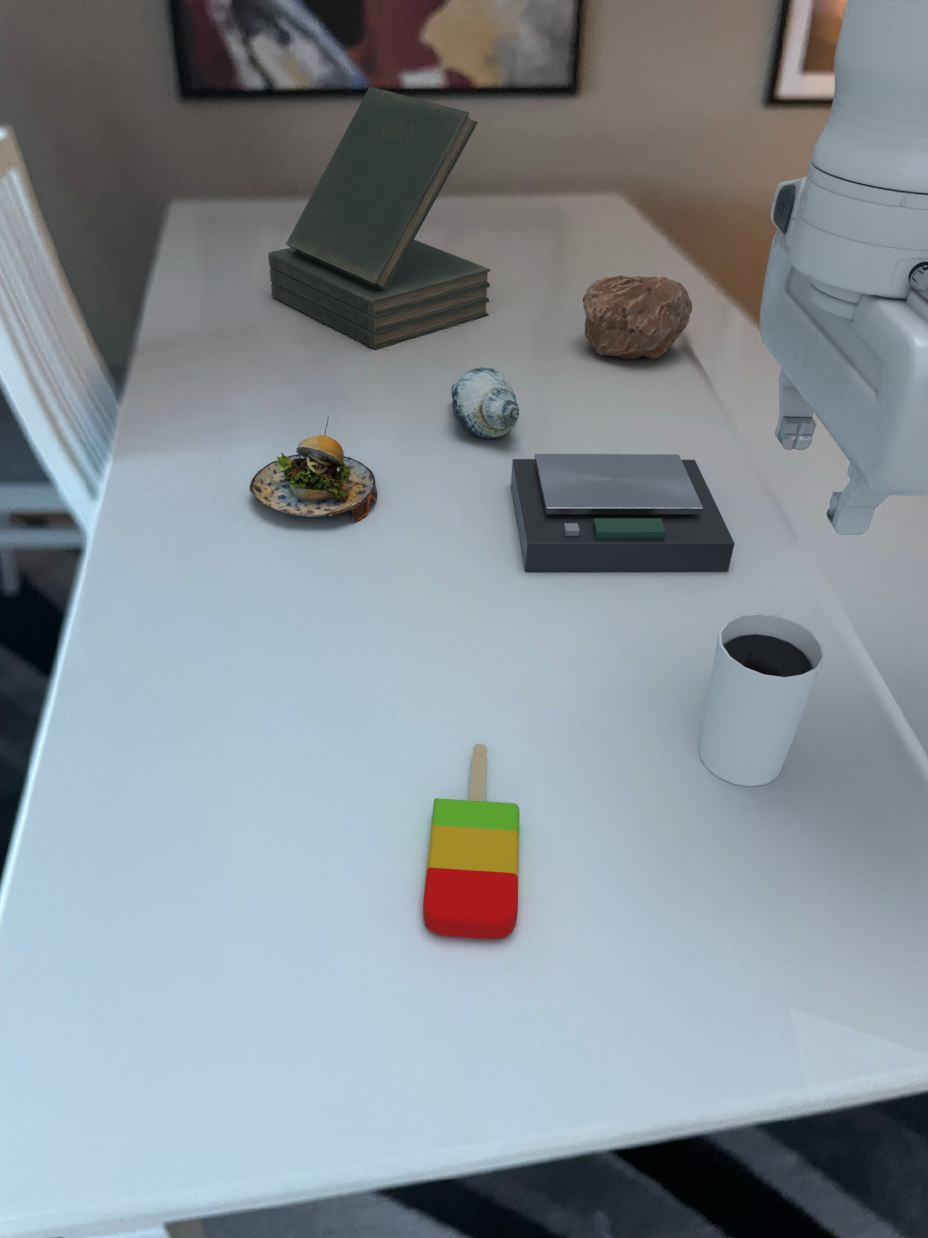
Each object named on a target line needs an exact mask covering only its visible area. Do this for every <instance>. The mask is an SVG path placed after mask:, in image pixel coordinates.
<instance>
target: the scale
mask: <svg viewBox="0 0 928 1238" xmlns="http://www.w3.org/2000/svg"><path fill="white" fill-rule="evenodd" d="M534 459H535V458H513V459H512V461H511V477H510V488H511V495H512V501H513V506H514V507H513V508H514V513H515V514H514V515H515V519H516V527H517V531H518V538H519V543H520V550H521V556H522V562H523V568H524V572H525V573H554V572H555V573H565V572H566V573H568V572H569V573H587V572H588V573H591V572H592V573H593V572H596V573H597V572H601V573H602V572H606V573H607V572H608V573H614V572H617V573H618V572H619V573H620V572H621V573H622V572H623V573H625V572H626V573H627V572H628V573H629V572H631V573H633V572H636V573H637V572H638V573H639V572H644V573H646V572H647V573H648V572H650V573H653V572H658V573H659V572H665V573H666V572H729V570H730V565H731V561H732V556H733V553H734V548H735V544H736V543H735V541H734V539H733V537H732V534H731V533H730V531H729V528H728V527H727V524H726V522H725V520H724V518H723V516H722V513H721V512H720V509H719V507H718V505H717V503H716V501H715V499H714V497H713V495H712V493H711V490H710V489H709V487H708V485H707V482H706V480H705V478H704V476H703V474H702V472H701V470H700V468H699V465H698V463H697V461H696V460H695V459H681V460H682V462H683V465H684V467H685V469H686V471H687V473H688V476H689V478H690V480H691V482H692V485H693V487H694V489H695V491H696V493H697V496H698V498H699V500H700V502H701V504H702V507H703V512H702V514H701V515H690V514H546V512H545V507H544V503H543V498H542V493H541V489H540V484H539V479H538V474H537V470H536V465H535V460H534Z"/></svg>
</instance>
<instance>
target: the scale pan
mask: <svg viewBox="0 0 928 1238" xmlns="http://www.w3.org/2000/svg"><path fill="white" fill-rule="evenodd" d="M533 459H534V460H535V465H536V470H537V474H538V479H539V484H540V489H541V493H542V498H543V503H544V507H545V512H546V514H690V515H701V514H702V512H703V507H702V504H701V502H700V500H699V498H698V496H697V493H696V491H695V489H694V487H693V485H692V482H691V480H690V478H689V476H688V473H687V471H686V469H685V467H684V465H683V462H682V460H683V459H682V458H681V456H680V454H678V453H677V454H676V453H674V454H673V453H668V454H667V453H662V454H661V453H660V454H659V453H640V454H639V453H535V454H534V458H533Z"/></svg>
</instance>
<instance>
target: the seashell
mask: <svg viewBox="0 0 928 1238" xmlns="http://www.w3.org/2000/svg"><path fill="white" fill-rule="evenodd" d="M451 398H452V401H451V403H452V410H453V413H454V416H455V419H456V420H457V422H458V424H459V425H460V427H461V428H462V429H463V430H464V431H465V432H467V434H469V435H471V436H474V437H475V438H480V439H487V440H489V439H498V438H500V437H502V436H506V434H508V433H509V432H510V431H511V430H512V429H513V427H514V426H515V424H516V423H517V421H518V419H519V417H520V408H519V405H518V402H517V401H518V400H517V397H516V393H514V390H513V388H512V385H511V384H510V382H509V380H508V379H507V378H506V376H505V375H504V374H503V373H502V372H500V371H498V370H497V369H495V368H492V367H483V366H482V367H476V368H473V369H471V370H468V371H467V372H465V373H464V374H462V375H461V377H460V378H459V380H458V381H457V382H456V383H454V384H452V386H451Z"/></svg>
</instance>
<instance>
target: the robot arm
mask: <svg viewBox="0 0 928 1238" xmlns="http://www.w3.org/2000/svg"><path fill="white" fill-rule="evenodd" d="M835 47H836V48H835V53H834V58H833V59H834V61H833V70H834V71H833V72H834V73H833V75H834V91H833V99H832V103H831V107H830V110H829V111H830V112H829V113H828V118H827V120H826V122H825V124H824V127H823V129H822V131H821V133H820V134H819V137H818V138H817V140H816V141H815V144H814V146H813V149H812V152H811V156H810V160H809V164H808V168H807V173H806V176H803V177H800V178H795V179H790V180H785V181H782V182H780V183H778V185H777V186H776V187H775V191H774V193H773V198H772V202H771V203H772V204H771V207H770V220H771V223H772V224H773V226H774V227H775V228H776V229H777V230H776V231H775V233H774V234H773V238H772V242H771V245H770V249H769V252H768V253H769V254H768V259H767V264H766V269H765V276H764V281H763V287H762V294H761V300H760V308H759V332H760V339H761V342H762V344H764V346H765V347H766V348H767V349H768V351H769V353H770V354H771V356H772V357H773V358H774V359H775V361H776V362H777V364H778V365H779V366H780V371H779V376H778V394H779V395H778V396H779V397H778V400H779V401H778V403H779V404H778V405H779V407H778V408H779V415H778V419H777V423H776V426H775V432H774V436H775V438H776V439H777V440H778V442H779V444H780V445H781V446H782V448H783V450H786V451H792V450H797V451H805V450H807V449H808V448H810V446H811V445H812V442H813V435H814V434H815V431H816V427H817V422H816V421H815V419H814V414H815V416H816V417H817V418H818V420H819V422H820V423H821V424H822V426H823V427H824V428H825V430H826V431H827V432H828V434H829V435H830V437H831V438H832V439H833V441H834V442H835V443H836V445H837V446H838V447H839V450H840V451H841V452H842V453H843V455H844V456H845V458H846V459H847V460H848V462H849V465H848V468H847V471H846V473H847V477H849V479H850V481H849V482H848V483H847V485H846V486H845V488H844V489H843V491H832V494H831V498H830V501H829V507H828V509H827V511H826V518H827V520H828V522H829V523H830V525H831V526H832V528H833V530H834V531H835V533H837V534H838V535H840V536H843V535H844V536H859V535H860V536H861V535H863V534H864V533H866V532H867V531H868V530H869V528H870V525H871V522H872V519H873V516H874V513H875V510H876V508H878V507H879V506H880V505H881V504H882V503H883V502H884V501H885V500H886V499H888V497H889V496H895V497H897V496H898V497H899V496H900V497H927V496H928V0H847V1H846V5H845V10H844V13H843V17H842V21H841V25H840V30H839V35H838V39H837V43H836V46H835Z"/></svg>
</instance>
